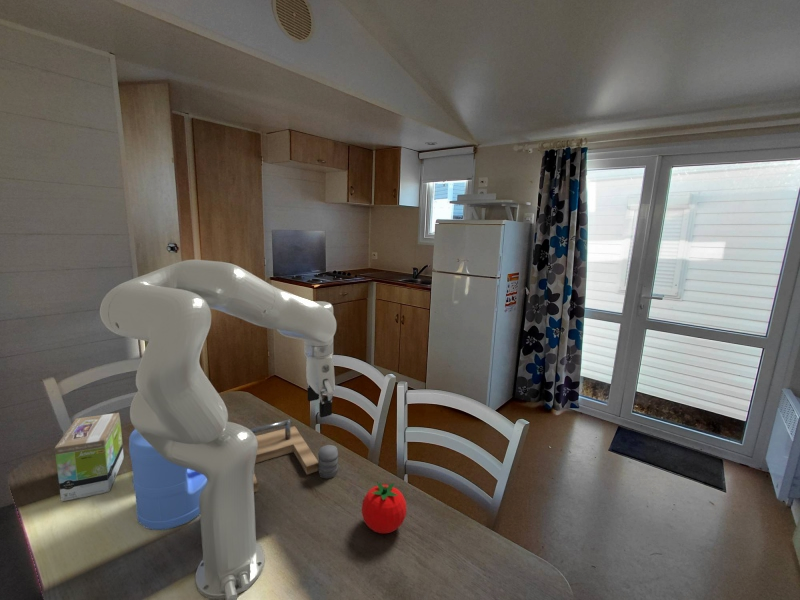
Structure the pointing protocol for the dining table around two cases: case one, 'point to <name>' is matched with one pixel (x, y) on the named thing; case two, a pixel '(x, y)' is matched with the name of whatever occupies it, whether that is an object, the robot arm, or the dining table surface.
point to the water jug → (162, 487)
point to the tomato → (384, 508)
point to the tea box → (89, 456)
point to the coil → (328, 461)
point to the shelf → (285, 450)
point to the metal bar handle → (275, 425)
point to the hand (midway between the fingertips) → (319, 407)
